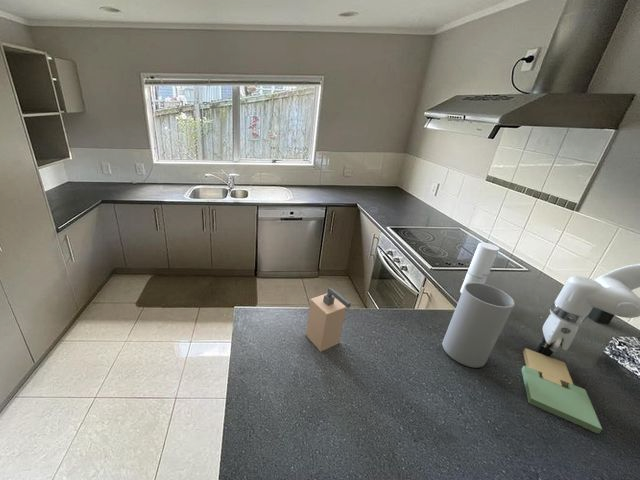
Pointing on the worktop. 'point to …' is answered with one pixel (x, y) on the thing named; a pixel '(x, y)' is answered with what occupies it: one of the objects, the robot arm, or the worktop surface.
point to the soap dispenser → (326, 319)
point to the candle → (600, 316)
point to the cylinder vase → (476, 324)
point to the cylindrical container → (481, 264)
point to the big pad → (560, 400)
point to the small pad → (548, 367)
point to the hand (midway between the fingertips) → (542, 354)
